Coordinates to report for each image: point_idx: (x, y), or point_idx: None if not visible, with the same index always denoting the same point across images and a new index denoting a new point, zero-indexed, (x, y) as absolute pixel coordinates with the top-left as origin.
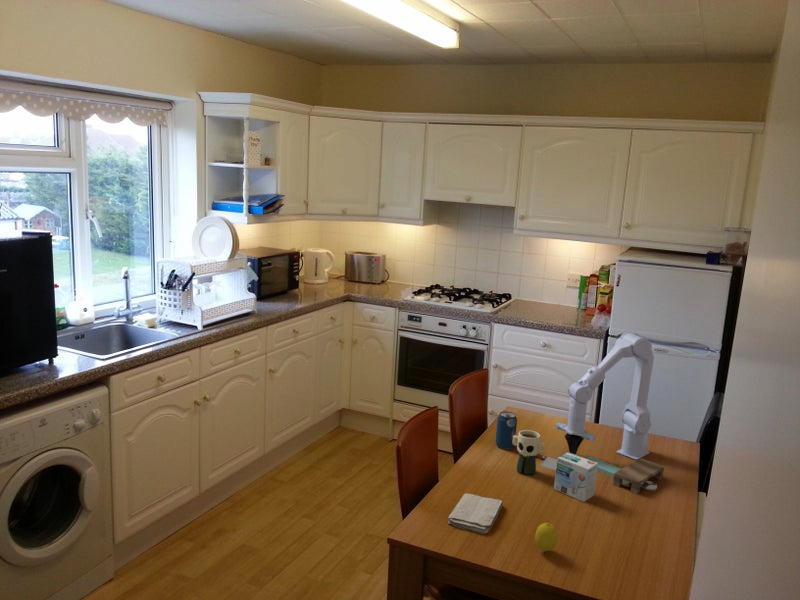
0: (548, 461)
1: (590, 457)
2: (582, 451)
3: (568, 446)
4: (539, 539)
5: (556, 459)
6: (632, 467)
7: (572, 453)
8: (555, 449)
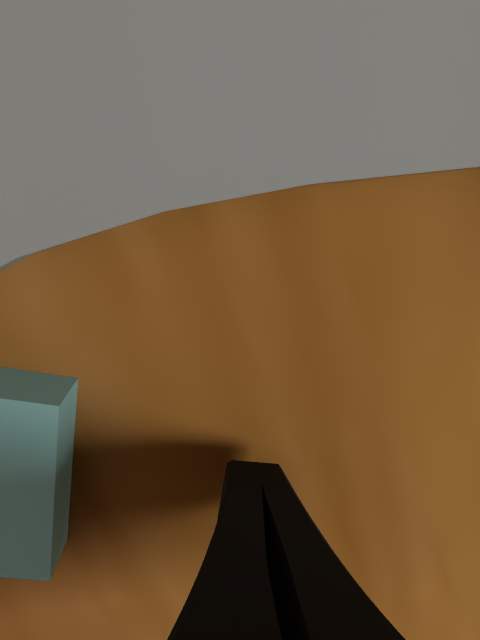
0: (476, 7)
1: (19, 550)
2: None
3: (334, 554)
4: None
5: (377, 173)
6: None
7: (236, 478)
8: (477, 501)
